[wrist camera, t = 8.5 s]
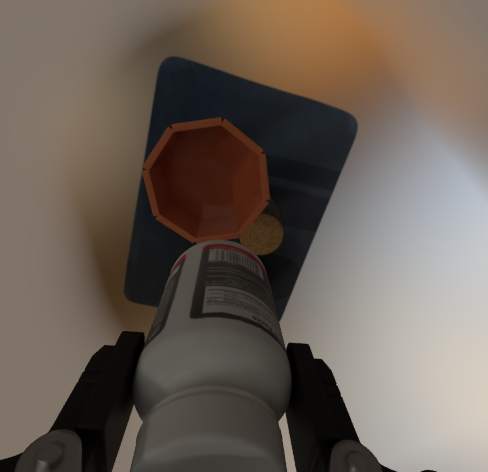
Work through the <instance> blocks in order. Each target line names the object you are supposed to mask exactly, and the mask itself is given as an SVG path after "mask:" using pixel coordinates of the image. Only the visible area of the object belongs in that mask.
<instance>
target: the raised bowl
mask: <svg viewBox="0 0 488 472" xmlns="http://www.w3.org/2000/svg"><path fill="white" fill-rule="evenodd" d="M263 151H264V150H263V149H262V148H261V147H260V146H258V145H257V144H256V143H255V142H254V141H252V140H251V139H250V138H249V137H247V136H246V135H245V134H244V133H243V132H241V131H240V130H239V129H238V128H236V127H235V126H234V125H233V124H231V123H230V122H229V121H228V120H227V119H224V121H223V119H222V118H221V117H219V118H212V119H205V120H198V121H191V122H184V123H177V124H172V126H170V127H167V129H166V131H165V132H164V134H163V135H162V137H161V138H160V140H159V142H158V143H157V145H156V146H155V148H154V149H153V151H152V153H151V154H150V156H149V157H148V159H147V160H146V162H145V164H144V165H143V168H144V170H143V171H142V174H143V178H144V181H145V185H146V189H147V193H148V197H149V201H150V205H151V208H152V212H153V216H157V215H158V216H157V217H156V219H157V220H158V221H160V222H161V223H163V224H164V225H166V226H167V227H169V228H171V229H172V230H174V231H175V232H177V233H178V234H180V235H181V236H183V237H184V238H186V239H187V240H189V241H191V242H192V243H194V242H195V240H196V244H199V243H202V242H206V241H210V240H228V239H235V238H239V235H241V236H243V235H244V233H245V232H246V231H247V230H248V228H249V227H250V226H251V225H252V223H253V222H254V221H255V220H256V219H257V217H258V216H259V215H260V214H261V212H262V211H263V210H264V209H265V207H266V206H267V205H268V204H269V202H268V200H270V192H269V181H268V171H267V161H266V154H265V153H264V152H263Z"/></svg>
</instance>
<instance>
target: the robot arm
mask: <svg viewBox="0 0 488 472" xmlns="http://www.w3.org/2000/svg"><path fill="white" fill-rule="evenodd" d="M144 340H145V336H144V333H143V332H129V331H123V332H122V333H121V334H120V336H119V338H118V340H117V343H116V345H115V346H111V345H104V346H103V347H102V348H101V349H100V350H99V351H97V352H96V353H95V354H94V355H93V356H92V357H91V359H90V361H89V363H88V365H87V366H86V368H85V371H84V372H83V373H82V375H81V377H80V378H79V381H78V383H77V384H76V386H75V387H74V389H73V391H72V393H71V394H70V396H69V398H68V399H67V401H66V403H65V405H64V406H63V408H62V410H61V412H60V413H59V415H58V417H57V419H56V421H55V423H54V424H53V426H52V427H51V429H50V430H49V432H48V433H47V434H45V435H43V436H41V437H39V438H38V439H37V440H35V441H34V442H33V443H31V444H30V445H29V446H28V447H27V448H26V450H25V451H24V452H23V453H21V454H18V455H16V456H13V457H10V458H6V459H3V460H0V472H112V469H113V466H114V463H115V460H116V457H117V454H118V451H119V448H120V445H121V442H122V439H123V435H124V433H125V430H126V427H127V423H128V421H129V417H130V414H131V412H132V408H133V406H134V400H133V393H132V386H133V378H134V373H135V369H136V366H137V362H138V359H139V357H140V354H141V352H142V349H143V347H144V344H145V341H144ZM286 352H287V356H288V360H289V363H290V368H291V375H292V392H291V397H290V401H289V404H288V407H287V409H286V411H285V413H286V418H287V423H288V428H289V434H290V439H291V445H292V449H293V455H294V461H295V466H296V471H297V472H396V471H394V470H391V469H389V468H387V467H384V466H383V465H381V464H380V463H379V462H378V460H377V459H376V457H375V456H374V455H373V454H372V452H371V451H370V450H369V449H367V448H366V447H365V446H363V445H362V444H361V443H360V441H359V438H358V436H357V433H356V431H355V428H354V426H353V423H352V421H351V418H350V416H349V413H348V411H347V408H346V406H345V403H344V401H343V398H342V397H341V394H340V391H339V388H338V386H337V385H336V381H335V378H334V376H333V373H332V371H331V369H329V367H328V366H327V365H326V363H325V362H324V361H323V360H322V359H314V357H313V355H312V352H311V349H310V346H309V345H308V344H302V343H288V345H287V349H286ZM421 472H436V471H432V470H424V471H421Z"/></svg>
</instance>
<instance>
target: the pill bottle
mask: <svg viewBox="0 0 488 472" xmlns="http://www.w3.org/2000/svg"><path fill="white" fill-rule="evenodd" d="M291 392H292V375H291V368H290V363H289V360H288V356H287V352H286V348H285V344H284V340H283V336H282V332H281V329H280V324H279V320H278V316H277V312H276V308H275V304H274V301H273V296H272V292H271V288H270V284H269V280H268V276H267V273H266V270H265V268H264V265H263V264H262V262H261V260H260V259H259V258H258V257H257V255H256V254H255V253H254V252H252V251H251V250H250V249H248V248H246V247H245V246H243V245H241V244H238V243H235V242H232V241H226V240H210V241H206V242H202V243H199V244H197V245H195V246H193V247H191V248H190V249H188V250H187V251H186V252H184V253H183V254H182V255H181V256H180V257H179V258H178V260H177V261H176V263H175V264H174V266H173V268H172V271H171V274H170V276H169V279H168V281H167V284H166V287H165V290H164V293H163V295H162V298H161V301H160V304H159V307H158V310H157V312H156V315H155V318H154V320H153V323H152V326H151V329H150V332H149V334H148V337H147V339H146V342H145V344H144V347H143V349H142V352H141V354H140V357H139V359H138V362H137V366H136V369H135V373H134V378H133V386H132V393H133V400H134V405H135V408H136V410H137V412H138V414H139V416H140V418H141V420H142V421H143V424H142V426H141V427H140V429H139V432H138V435H137V439H136V447H135V452H134V456H133V460H132V464H131V469H130V472H287V468H286V462H285V454H284V448H283V441H282V434H281V430H280V428H279V424H278V421H279V420H280V419H281V418H282V416H283V414H284V413H285V411H286V409H287V407H288V404H289V401H290V397H291Z"/></svg>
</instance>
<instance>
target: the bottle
mask: <svg viewBox="0 0 488 472" xmlns="http://www.w3.org/2000/svg"><path fill="white" fill-rule="evenodd" d="M268 202H269V204H268V205H267V206H266V207H265V209H264V210H263V211H262V212H261V214H260V215H259V216H258V217H257V219H256V220H255V221H254V222H253V223H252V225H251V226H250V227H249V228H248V230H247V231H246V232H245V233H244V235H243V236H241V235H239V239H240V242H241V244H242V245H243V246H245V247H246V248H248V249H250V250H251V251H252V252H254V253H255V254H256V255H265V254H269V253H271V252H273V251H274V250H276V249H277V248H278V247H279V246H280V244H281V242H282V239H283V228H282V223H281V215H280V212H279V210H278V208H277V206H276V204H275V202H274V200H273V199H272V197H271V195H270V200H268Z"/></svg>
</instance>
